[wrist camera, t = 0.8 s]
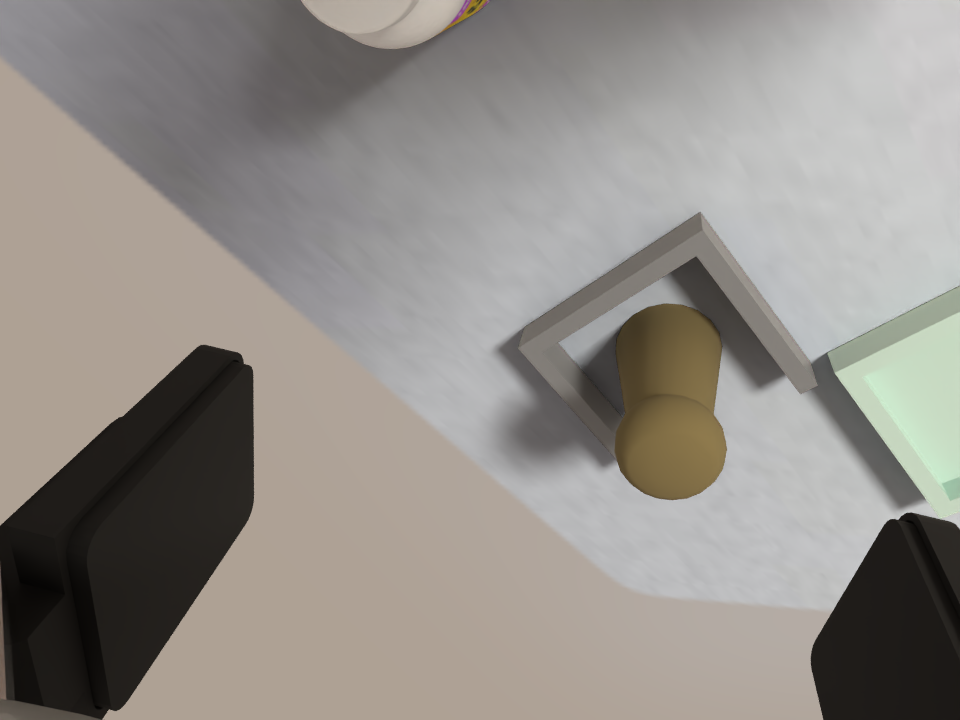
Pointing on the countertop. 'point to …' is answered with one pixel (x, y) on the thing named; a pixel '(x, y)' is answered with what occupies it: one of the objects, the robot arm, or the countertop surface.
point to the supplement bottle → (392, 19)
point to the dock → (625, 283)
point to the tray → (913, 393)
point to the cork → (669, 402)
